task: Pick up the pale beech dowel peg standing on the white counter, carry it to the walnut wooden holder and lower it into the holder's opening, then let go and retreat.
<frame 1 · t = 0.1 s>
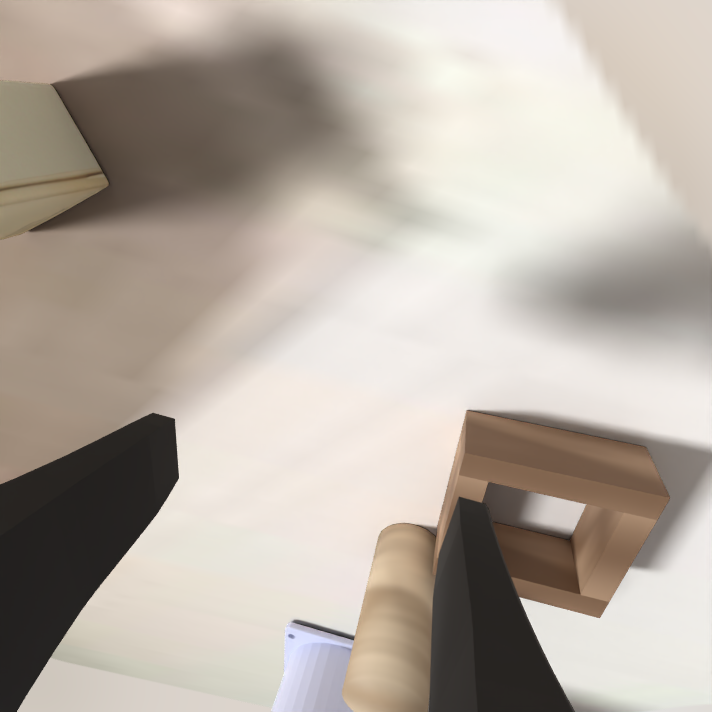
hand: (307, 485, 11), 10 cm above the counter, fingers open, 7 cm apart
walnut holder: (530, 490, 22), on the counter
skincare box: (40, 160, 20), on the counter
beech peg: (409, 546, 26), on the counter
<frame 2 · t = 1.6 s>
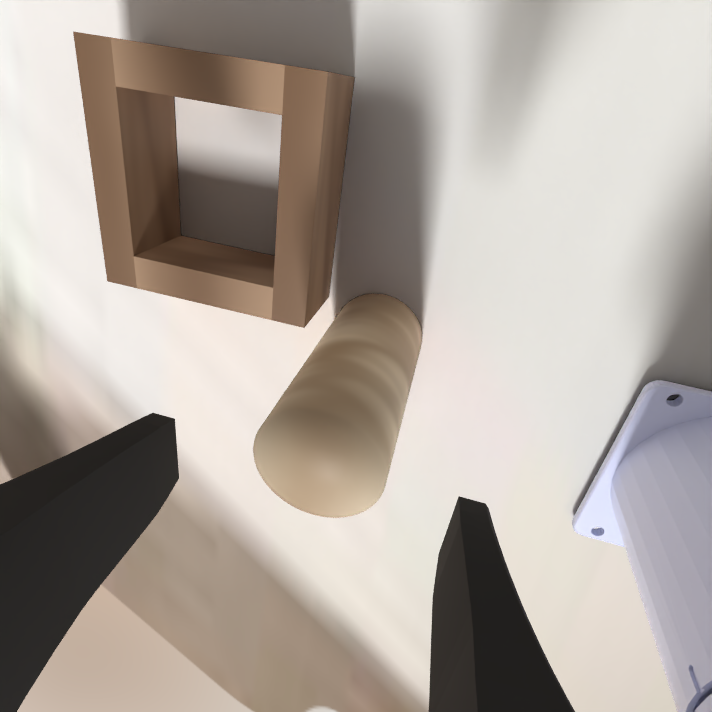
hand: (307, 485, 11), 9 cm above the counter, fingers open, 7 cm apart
walnut holder: (241, 180, 17), on the counter
beech peg: (377, 335, 19), on the counter
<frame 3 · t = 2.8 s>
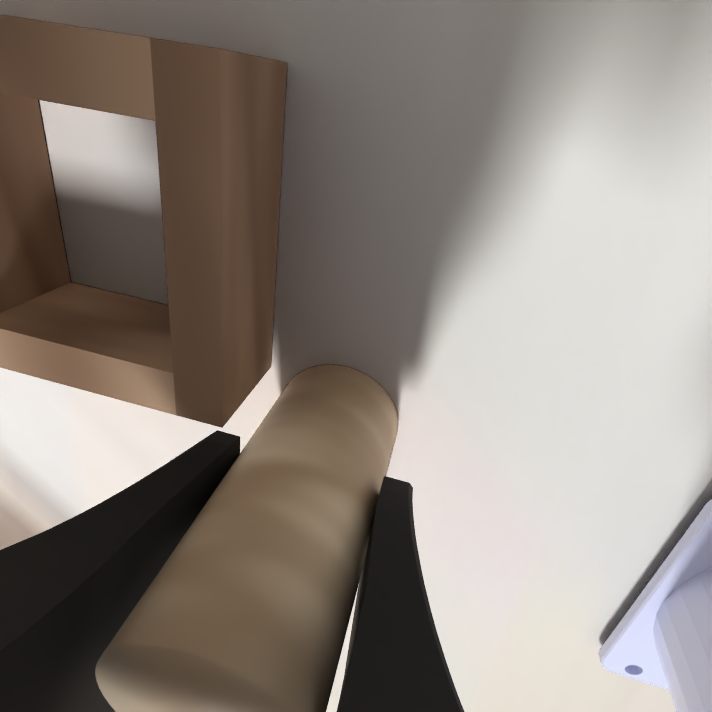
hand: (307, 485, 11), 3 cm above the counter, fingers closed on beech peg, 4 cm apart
walnut holder: (141, 210, 12), on the counter
beech peg: (338, 417, 14), on the counter, touching gripper
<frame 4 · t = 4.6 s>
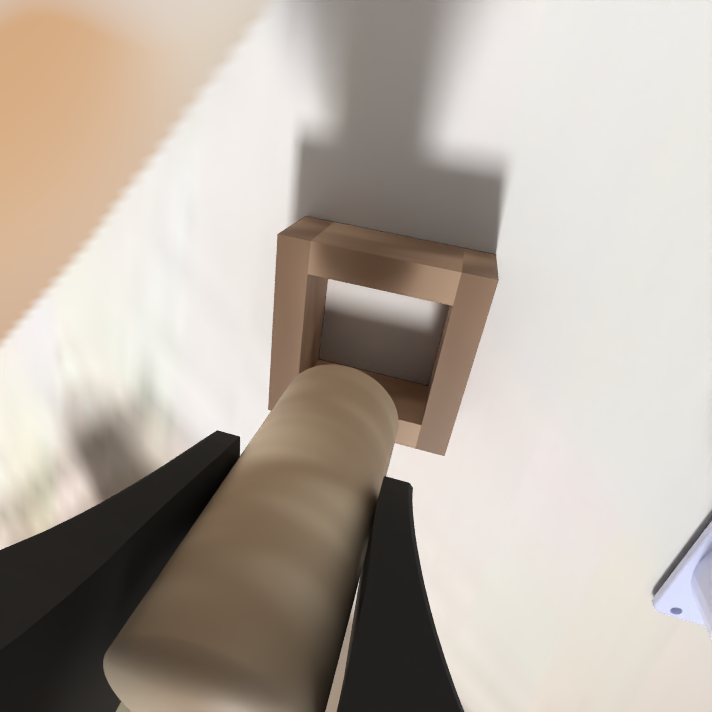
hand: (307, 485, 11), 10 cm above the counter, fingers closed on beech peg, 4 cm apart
walnut holder: (382, 321, 20), on the counter
beech peg: (339, 416, 14), point 7 cm above the counter, touching gripper
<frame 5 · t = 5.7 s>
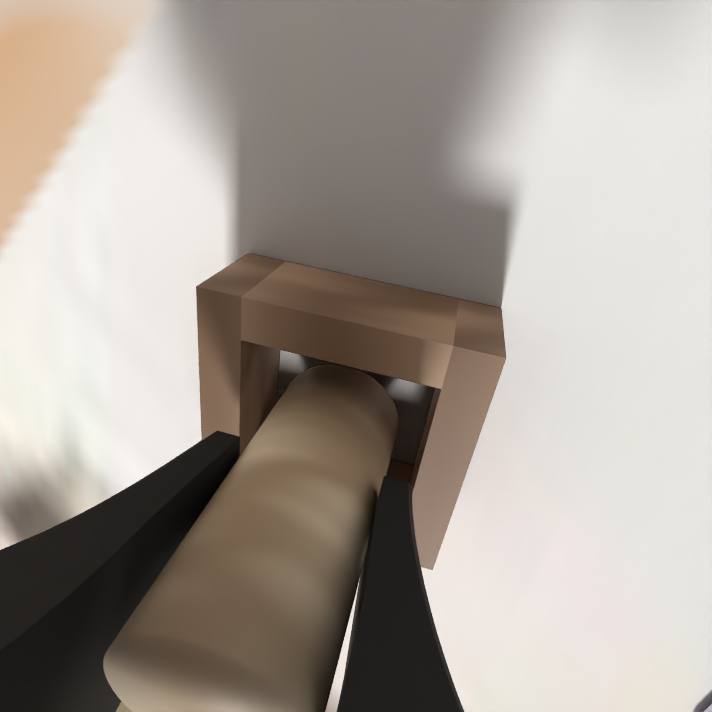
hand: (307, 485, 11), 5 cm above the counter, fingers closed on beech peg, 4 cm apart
walnut holder: (352, 387, 16), on the counter
beech peg: (339, 416, 14), point 2 cm above the counter, touching gripper
when the fingers open (4 cm above the counter, at t = 6.6 s): beech peg drops 1 cm, resting in walnut holder.
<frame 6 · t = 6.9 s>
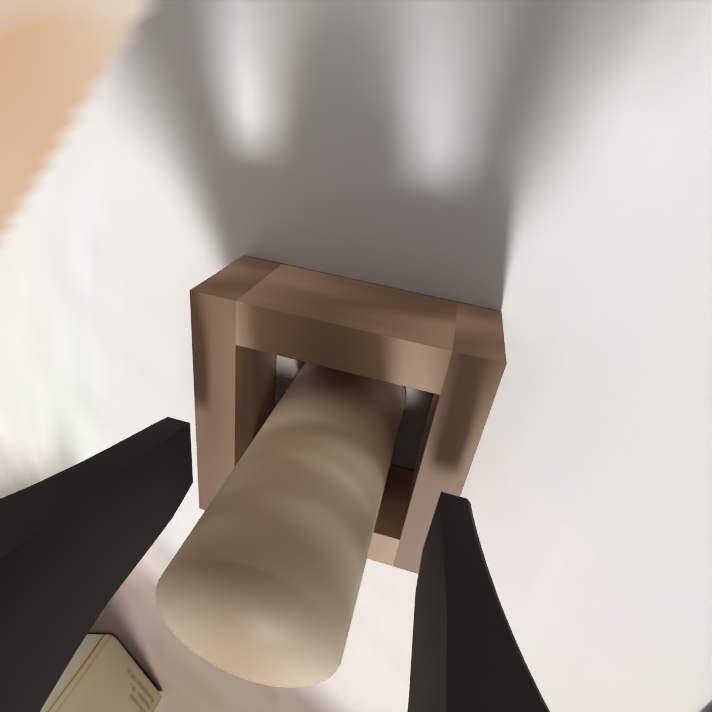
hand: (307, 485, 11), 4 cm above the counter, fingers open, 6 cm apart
walnut holder: (350, 391, 15), on the counter
skincare box: (114, 659, 29), on the counter
beech peg: (350, 393, 15), resting in walnut holder
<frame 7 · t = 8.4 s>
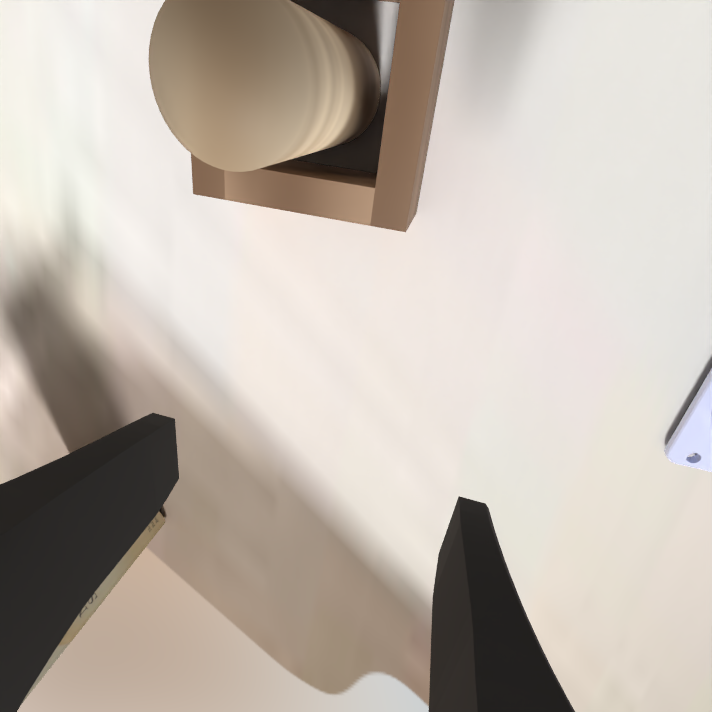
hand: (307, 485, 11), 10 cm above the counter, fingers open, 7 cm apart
walnut holder: (330, 86, 17), on the counter
skincare box: (120, 485, 30), on the counter
beech peg: (330, 89, 17), resting in walnut holder
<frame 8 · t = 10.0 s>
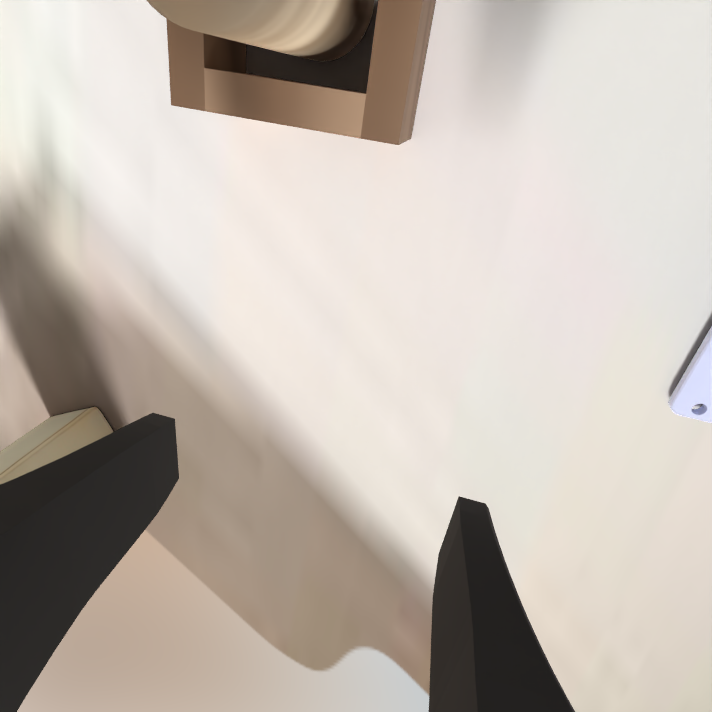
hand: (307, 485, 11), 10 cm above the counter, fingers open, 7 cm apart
skincare box: (100, 447, 29), on the counter
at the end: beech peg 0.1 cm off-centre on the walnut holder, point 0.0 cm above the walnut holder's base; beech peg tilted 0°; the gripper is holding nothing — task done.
